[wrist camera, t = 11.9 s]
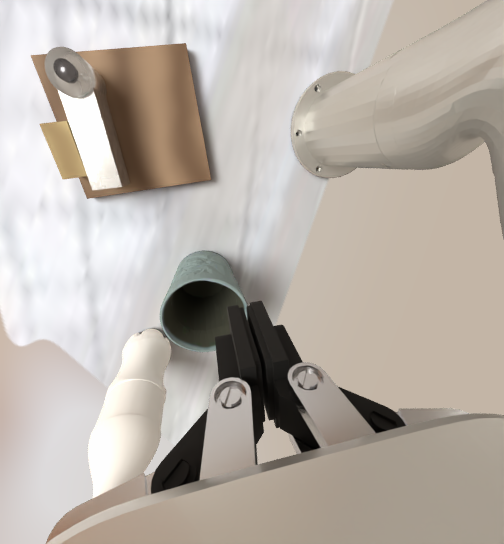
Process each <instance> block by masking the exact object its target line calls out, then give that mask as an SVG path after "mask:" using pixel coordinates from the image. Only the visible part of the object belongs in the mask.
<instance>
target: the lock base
mask: <svg viewBox="0 0 504 544" xmlns="http://www.w3.org/2000/svg"><path fill="white" fill-rule="evenodd" d="M76 53H78V54H79V55H80V56H81V57H82V58H83V59H84V60H85V61H86V62H87V63H89V64H90V65H91V66H92V67H93V68H94V69H95V70H96V71H97V72H98V73H99V74H100V75H101V76H102V78H103V80H104V82H105V85H106V99H107V103H108V106H109V110H110V113H111V117H112V120H113V124H114V127H115V131H116V135H117V138H118V142H119V145H120V149H121V152H122V156H123V159H124V163H125V167H126V170H127V174H128V177H129V181H130V184H129V185H126V186H123V187H118V188H109V189H100V190H92V187H91V185H90V182H89V179H88V176H87V173H86V170H85V167H84V164H83V161H82V158H81V156H80V153H79V150H78V147H77V144H76V141H75V138H74V135H73V132H72V129H71V126H70V124H69V121H68V118H67V115H66V112H65V109H64V106H63V103H62V100H61V97H60V95H59V92H58V90H57V89H56V88H55V87H54V86H53V85H52V83H51V82H50V80H49V79H48V77H47V74H46V71H45V58H46V55H47V54H43V55H31V58H32V60H33V63H34V65H35V68H36V70H37V73H38V75H39V78H40V80H41V83H42V85H43V88H44V91H45V93H46V96H47V98H48V101H49V103H50V106H51V108H52V111H53V113H54V116H55V118H56V121H57V122H52V123H43V124H40V126H41V129H42V131H43V134H44V136H45V138H46V141H47V143H48V145H49V148H50V150H51V153H52V155H53V157H54V160H55V162H56V164H57V167H58V169H59V171H60V174H61V176H62V179H70V178H77V177H79V179H80V182H81V184H82V187H83V189H84V192H85V194H86V197H87V199H88V198H95V197H101V196H108V195H115V194H121V193H128V192H134V191H141V190H147V189H154V188H161V187H167V186H174V185H180V184H187V183H194V182H200V181H207V180H211V176H210V171H209V165H208V160H207V154H206V149H205V144H204V138H203V133H202V127H201V122H200V117H199V111H198V106H197V100H196V95H195V90H194V84H193V79H192V73H191V68H190V63H189V57H188V52H187V46H186V43H184V44H171V45H158V46H145V47H132V48H120V49H107V50H94V51H81V52H76Z"/></svg>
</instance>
